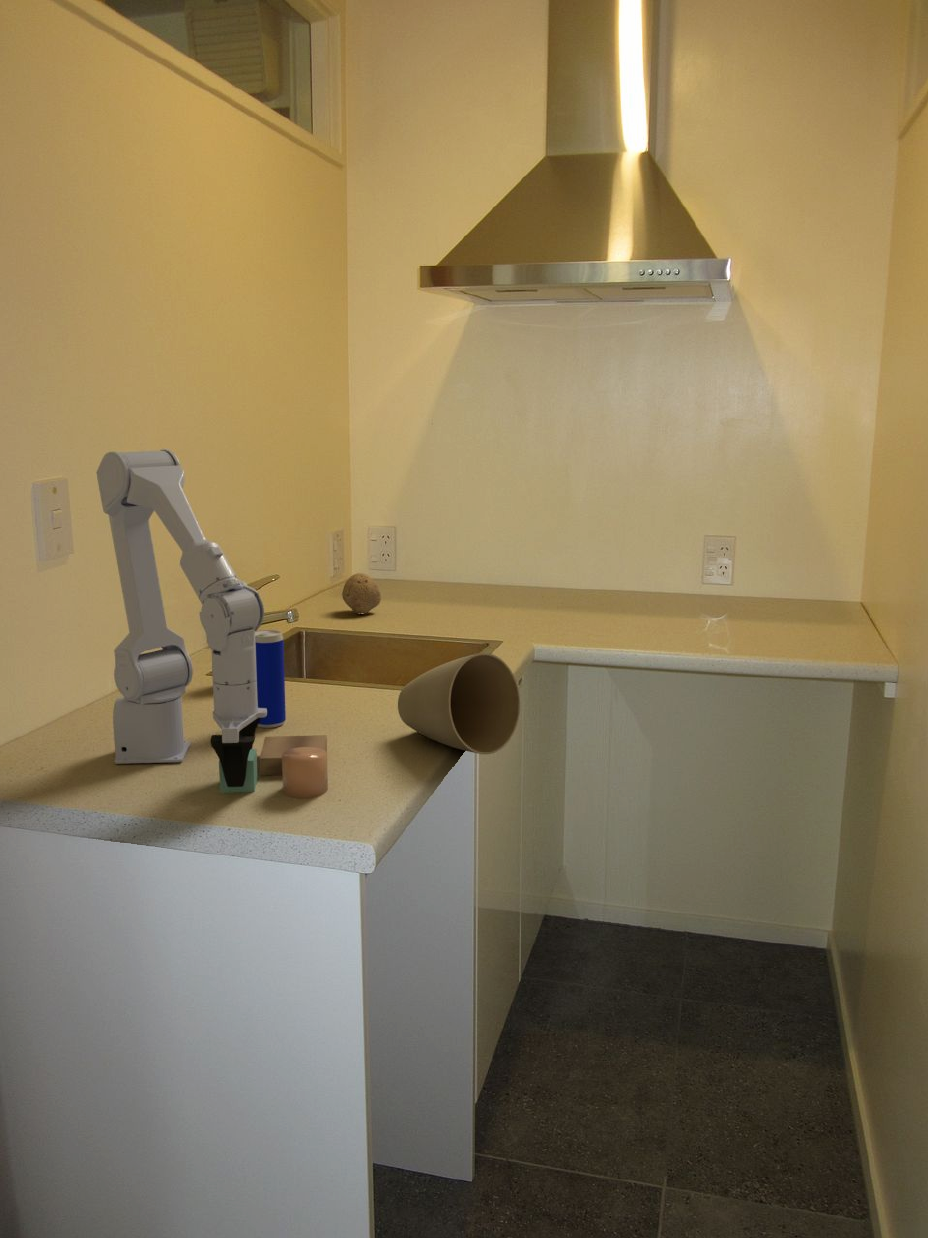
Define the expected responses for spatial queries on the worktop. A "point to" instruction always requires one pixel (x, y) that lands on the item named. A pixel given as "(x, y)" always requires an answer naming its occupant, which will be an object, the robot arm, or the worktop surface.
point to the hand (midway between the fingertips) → (238, 775)
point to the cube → (249, 780)
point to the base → (280, 744)
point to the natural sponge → (361, 593)
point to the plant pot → (464, 703)
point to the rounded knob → (304, 772)
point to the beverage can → (270, 677)
